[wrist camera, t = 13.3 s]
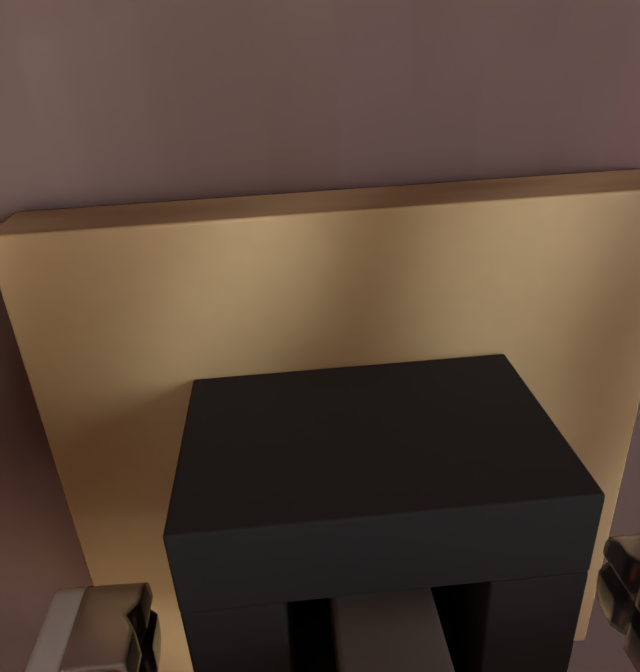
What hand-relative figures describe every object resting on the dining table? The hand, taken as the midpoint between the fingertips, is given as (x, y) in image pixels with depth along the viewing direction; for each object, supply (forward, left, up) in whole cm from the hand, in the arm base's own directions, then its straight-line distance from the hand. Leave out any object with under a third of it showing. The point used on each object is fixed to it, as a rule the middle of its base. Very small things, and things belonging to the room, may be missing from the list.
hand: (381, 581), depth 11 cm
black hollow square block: (0, 0, -3) cm, 3 cm away
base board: (0, 0, -4) cm, 4 cm away
